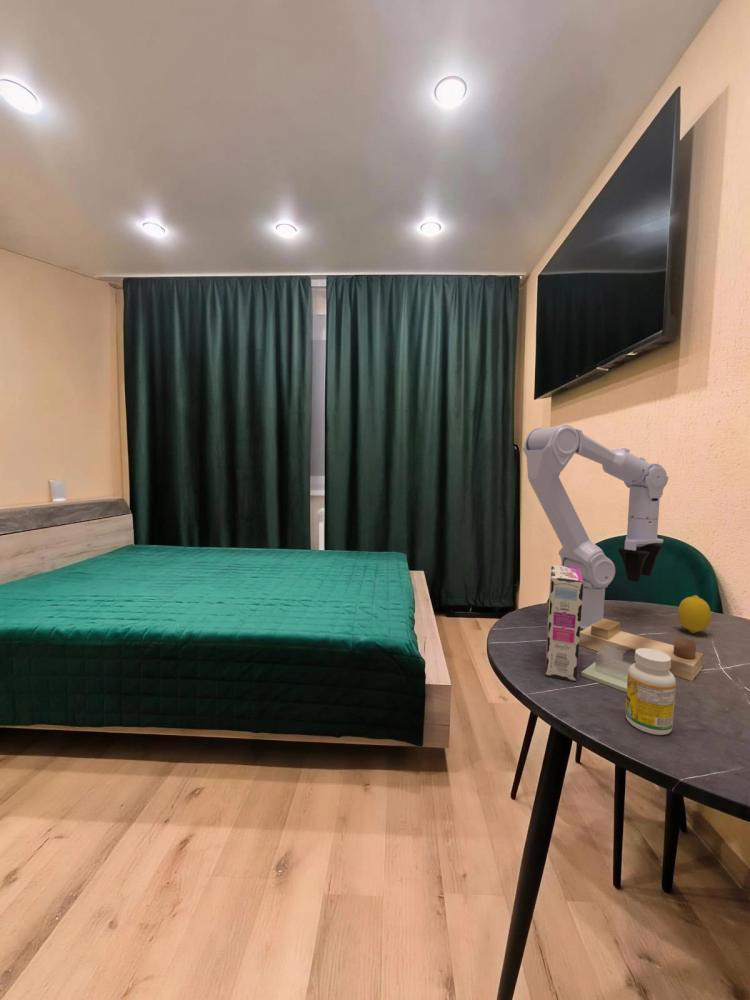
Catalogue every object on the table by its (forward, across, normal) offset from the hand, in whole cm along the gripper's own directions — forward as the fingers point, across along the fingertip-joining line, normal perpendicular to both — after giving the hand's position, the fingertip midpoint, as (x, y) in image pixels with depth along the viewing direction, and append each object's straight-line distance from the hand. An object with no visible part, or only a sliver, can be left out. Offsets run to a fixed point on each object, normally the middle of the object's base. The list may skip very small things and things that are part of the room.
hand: (639, 577), depth 96 cm
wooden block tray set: (+9, -21, -7) cm, 24 cm away
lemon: (+10, 0, -10) cm, 14 cm away
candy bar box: (+10, -36, +1) cm, 37 cm away
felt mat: (+9, -32, -8) cm, 35 cm away
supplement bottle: (+10, -43, -15) cm, 47 cm away
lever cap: (+9, -32, -8) cm, 34 cm away
